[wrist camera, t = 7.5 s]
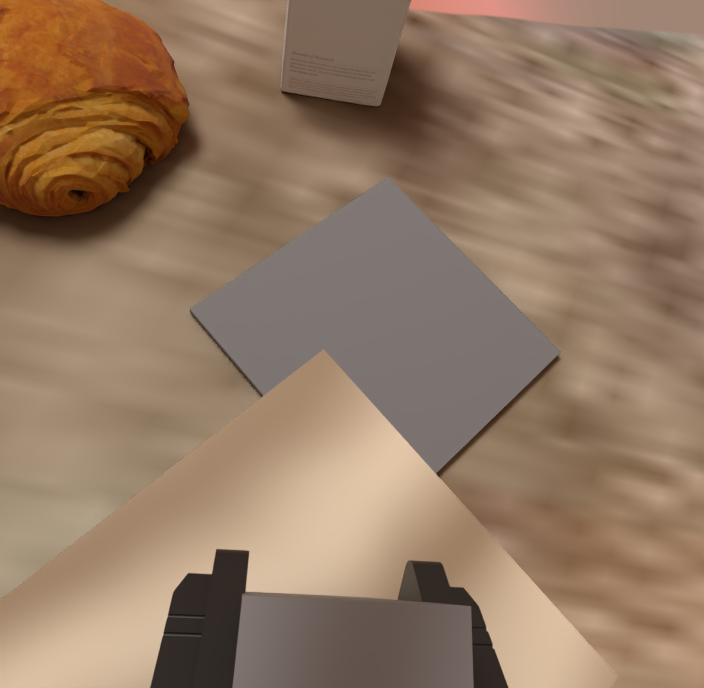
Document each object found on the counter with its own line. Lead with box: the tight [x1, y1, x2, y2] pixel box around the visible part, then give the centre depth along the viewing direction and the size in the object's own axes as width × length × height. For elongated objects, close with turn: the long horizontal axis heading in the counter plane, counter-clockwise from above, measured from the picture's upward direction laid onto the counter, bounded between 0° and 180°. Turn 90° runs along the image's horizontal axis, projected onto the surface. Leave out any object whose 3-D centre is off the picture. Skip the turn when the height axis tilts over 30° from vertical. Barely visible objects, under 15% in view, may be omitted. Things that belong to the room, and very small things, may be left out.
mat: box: [190, 177, 561, 473], centre depth 35 cm, size 16×16×1 cm
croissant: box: [0, 0, 189, 217], centre depth 35 cm, size 14×16×8 cm
